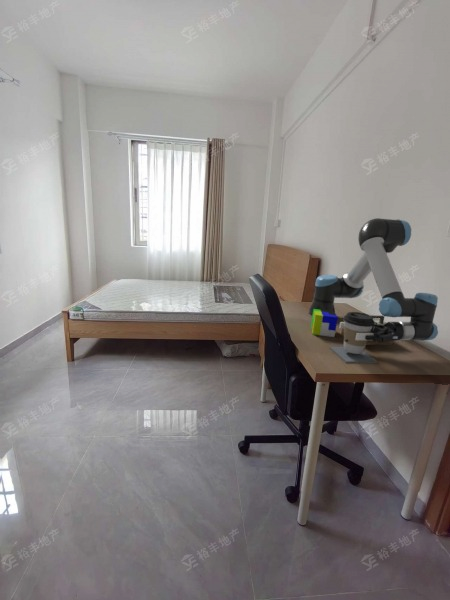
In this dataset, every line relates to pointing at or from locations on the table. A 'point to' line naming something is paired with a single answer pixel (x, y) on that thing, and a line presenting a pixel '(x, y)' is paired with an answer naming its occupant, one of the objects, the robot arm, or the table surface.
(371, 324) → the coffee cup
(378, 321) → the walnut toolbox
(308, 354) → the table surface
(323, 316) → the puzzle toy
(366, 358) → the slate mat
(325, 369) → the table surface
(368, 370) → the table surface
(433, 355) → the table surface
